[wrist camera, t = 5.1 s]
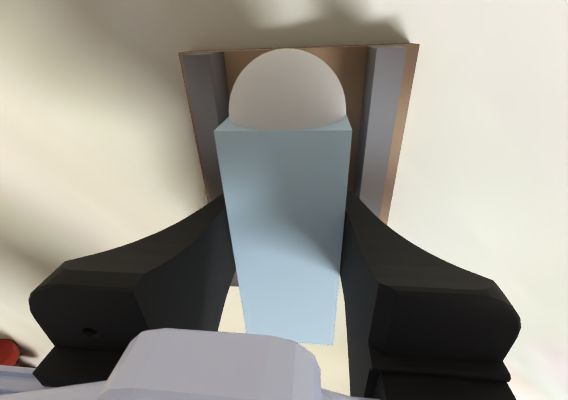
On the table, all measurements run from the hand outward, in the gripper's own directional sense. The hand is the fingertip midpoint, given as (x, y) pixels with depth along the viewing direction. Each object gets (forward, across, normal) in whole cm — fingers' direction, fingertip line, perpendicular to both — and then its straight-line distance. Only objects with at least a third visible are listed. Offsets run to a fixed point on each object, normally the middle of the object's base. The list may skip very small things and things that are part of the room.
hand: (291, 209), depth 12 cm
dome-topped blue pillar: (+2, 0, 0) cm, 2 cm away
